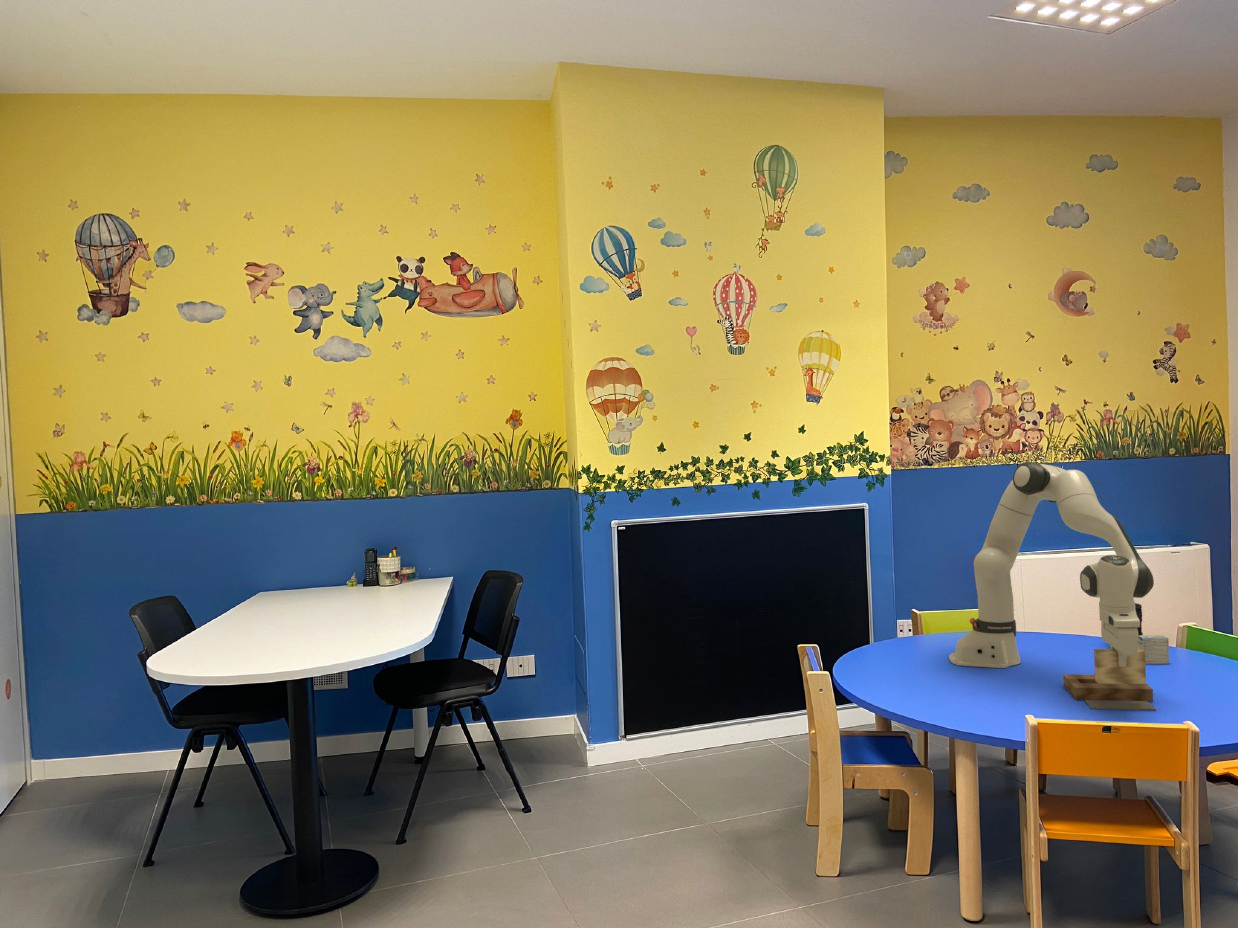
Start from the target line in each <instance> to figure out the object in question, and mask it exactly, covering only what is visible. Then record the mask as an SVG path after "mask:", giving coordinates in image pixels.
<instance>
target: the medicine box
mask: <svg viewBox="0 0 1238 928" xmlns="http://www.w3.org/2000/svg"><path fill="white" fill-rule="evenodd" d="M1169 640H1170V639H1169V637H1167V636H1165V635H1163V634H1145V635H1144V634H1143V635H1140V636H1138V649H1142V650H1143V651H1145V665H1169V664H1170V646H1169V645H1170V644H1169V643H1170V641H1169Z"/></svg>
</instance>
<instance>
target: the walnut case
mask: <svg viewBox="0 0 1238 928" xmlns="http://www.w3.org/2000/svg"><path fill="white" fill-rule="evenodd" d="M1062 677H1063V681H1062V682H1063V687H1064V688H1065V689H1066V690H1067V691H1068V693H1069V694H1070V695H1071V696H1072V698H1073V699H1074V700H1075V701H1085V700H1117V701H1148V702H1154V689H1153V688H1152V687H1151V686H1150V685H1149V684H1148V683H1146V684H1098V683H1097V682H1096V681H1095V674H1072V673H1071V674H1064V673H1063V674H1062Z"/></svg>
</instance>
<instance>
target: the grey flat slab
mask: <svg viewBox="0 0 1238 928" xmlns="http://www.w3.org/2000/svg"><path fill="white" fill-rule="evenodd" d="M1084 703H1086V704H1087V706H1088V707H1089V709H1091V710H1101V711H1102V710H1104V711H1105V710H1106V711H1108V710H1109V711H1146V712H1147V711H1150V712H1151V711H1152V712H1153V711H1154V712H1155V711H1157V709H1156V707H1155V706H1153V705H1152V704H1151V703H1150V701H1117V700H1084Z"/></svg>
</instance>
